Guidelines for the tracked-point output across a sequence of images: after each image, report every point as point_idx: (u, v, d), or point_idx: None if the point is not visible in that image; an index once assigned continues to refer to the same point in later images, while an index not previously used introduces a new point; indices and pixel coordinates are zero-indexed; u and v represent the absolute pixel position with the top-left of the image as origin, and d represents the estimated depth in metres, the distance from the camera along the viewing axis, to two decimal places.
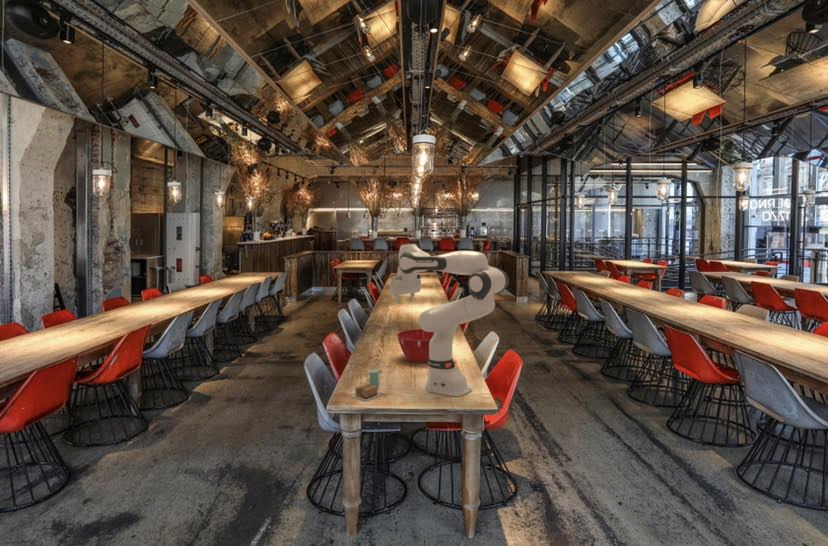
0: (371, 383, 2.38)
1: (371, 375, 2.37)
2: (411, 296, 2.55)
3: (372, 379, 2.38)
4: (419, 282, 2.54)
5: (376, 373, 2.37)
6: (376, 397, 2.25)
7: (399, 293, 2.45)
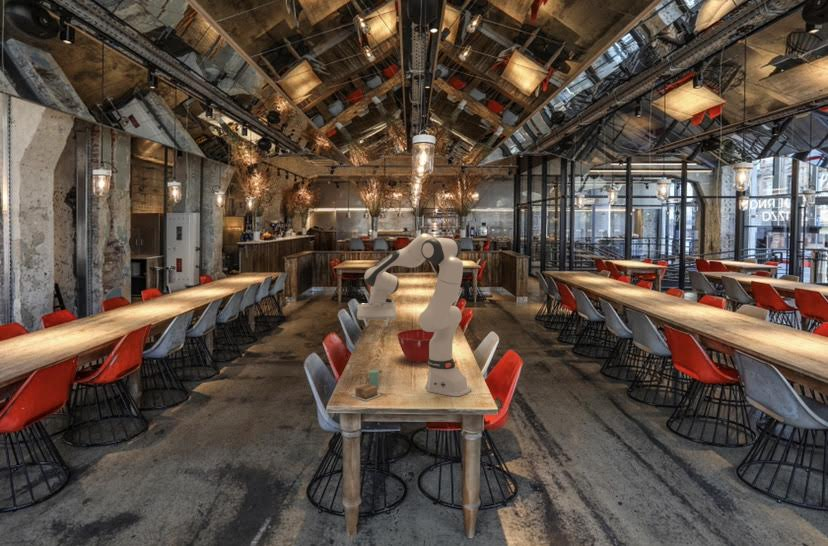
0: (371, 383, 2.38)
1: (371, 375, 2.37)
2: None
3: (372, 379, 2.38)
4: (392, 307, 2.54)
5: (376, 373, 2.37)
6: (376, 397, 2.25)
7: (364, 314, 2.52)
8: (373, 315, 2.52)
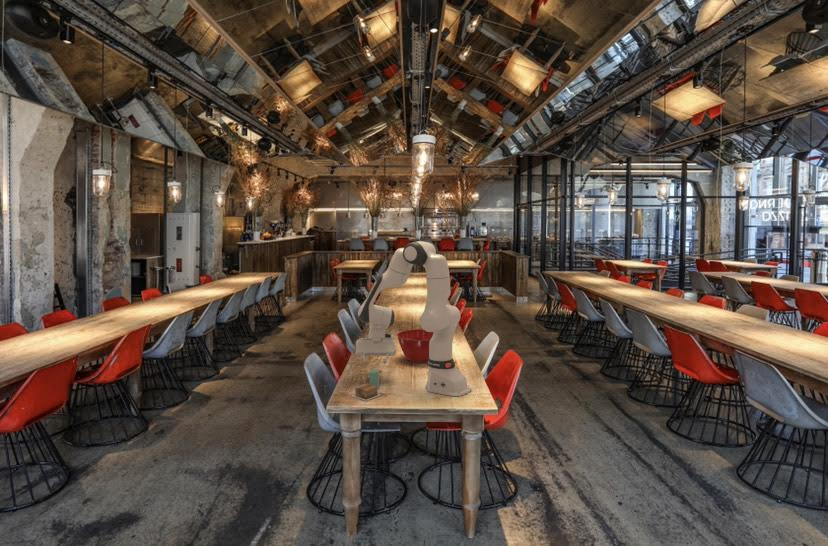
0: (371, 383, 2.38)
1: (371, 375, 2.37)
2: None
3: (372, 379, 2.38)
4: (392, 342, 2.50)
5: (376, 373, 2.37)
6: (376, 397, 2.25)
7: (363, 350, 2.48)
8: (372, 351, 2.48)
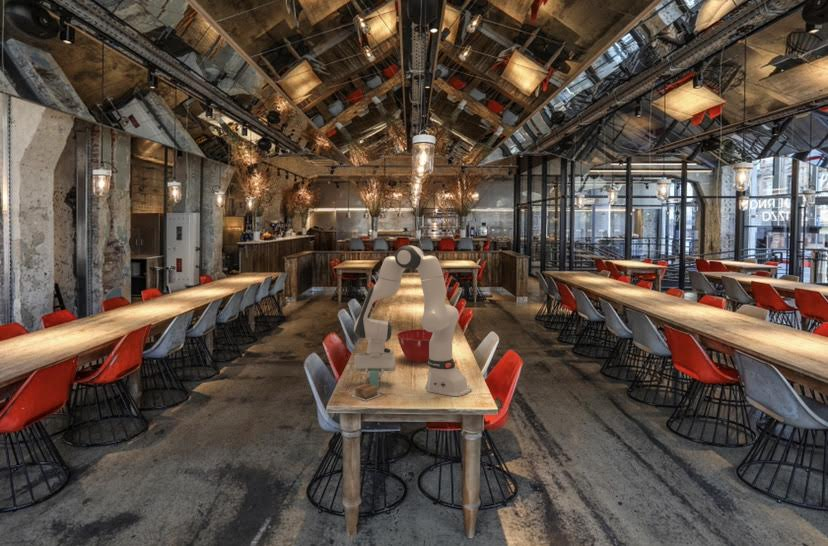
0: (371, 383, 2.38)
1: (371, 375, 2.37)
2: None
3: (372, 379, 2.38)
4: (391, 357, 2.43)
5: (376, 373, 2.37)
6: (376, 397, 2.25)
7: (362, 366, 2.41)
8: (371, 366, 2.41)
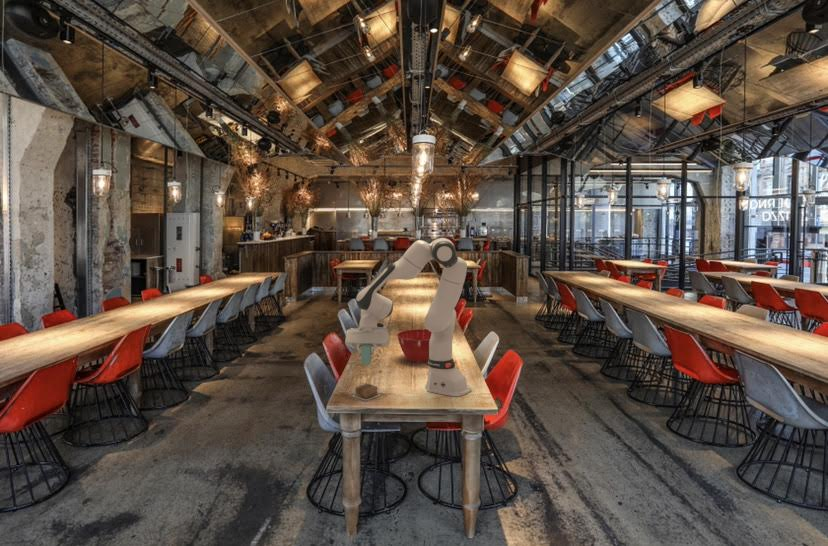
0: (363, 358, 2.26)
1: (363, 350, 2.25)
2: None
3: (363, 354, 2.25)
4: (384, 332, 2.31)
5: (368, 348, 2.25)
6: (376, 397, 2.25)
7: (353, 341, 2.29)
8: (363, 342, 2.29)
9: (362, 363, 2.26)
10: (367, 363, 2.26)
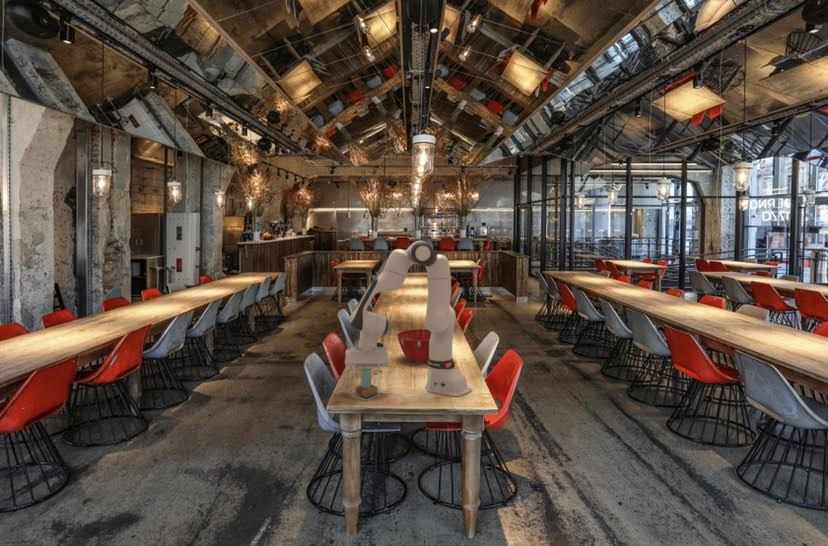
0: (363, 382, 2.25)
1: (363, 374, 2.25)
2: None
3: (363, 378, 2.25)
4: (384, 352, 2.31)
5: (368, 372, 2.25)
6: (376, 397, 2.25)
7: (353, 361, 2.28)
8: (363, 362, 2.28)
9: (362, 387, 2.25)
10: (367, 387, 2.25)
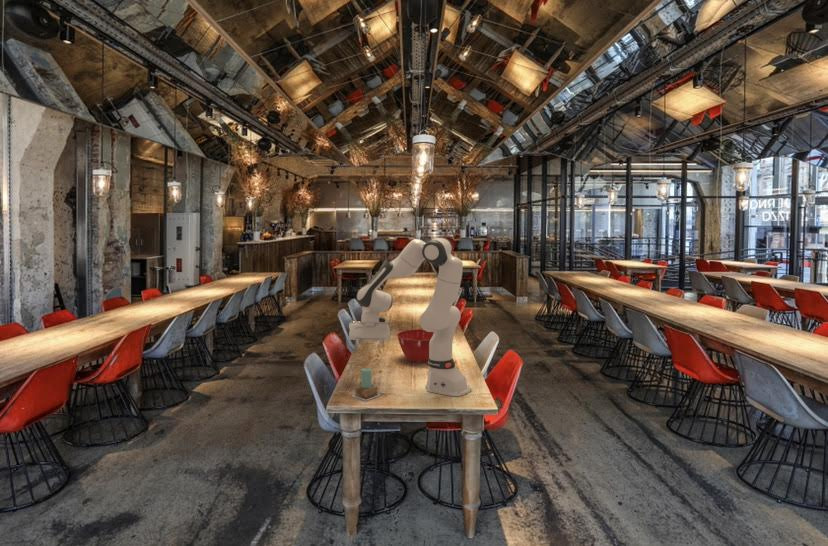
0: (363, 382, 2.25)
1: (363, 374, 2.25)
2: (380, 343, 2.43)
3: (363, 378, 2.25)
4: (386, 327, 2.45)
5: (368, 372, 2.25)
6: (376, 397, 2.25)
7: (357, 335, 2.42)
8: (366, 336, 2.42)
9: (362, 387, 2.25)
10: (367, 387, 2.25)
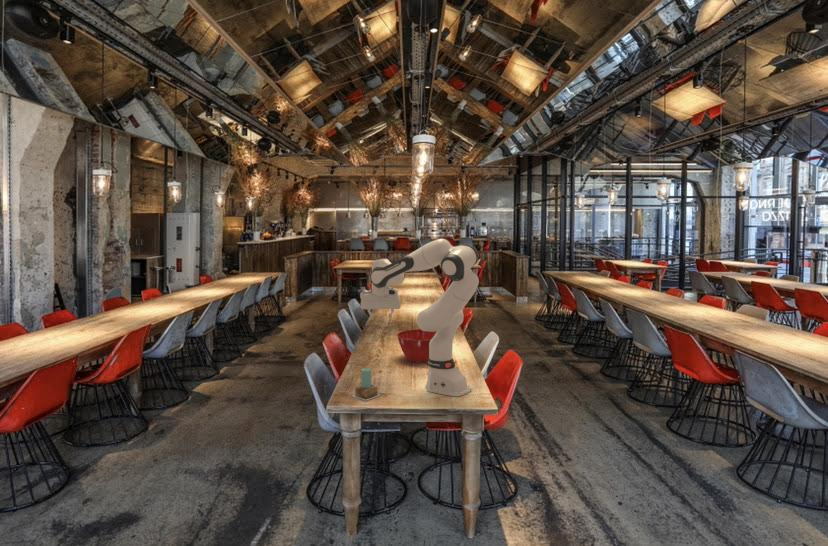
0: (363, 382, 2.25)
1: (363, 374, 2.25)
2: (391, 312, 2.52)
3: (363, 378, 2.25)
4: (396, 298, 2.49)
5: (368, 372, 2.25)
6: (376, 397, 2.25)
7: (368, 307, 2.50)
8: (377, 308, 2.50)
9: (362, 387, 2.25)
10: (367, 387, 2.25)
